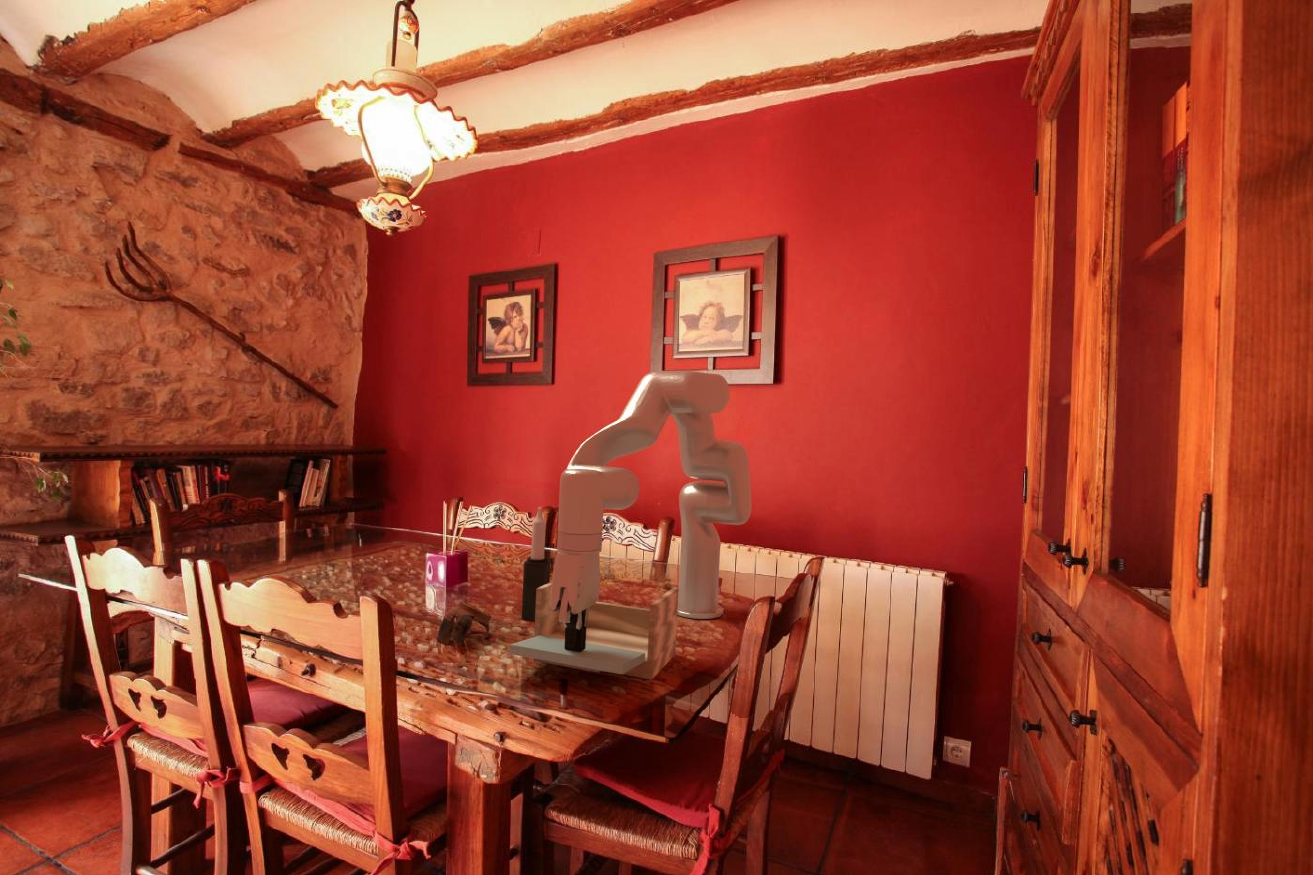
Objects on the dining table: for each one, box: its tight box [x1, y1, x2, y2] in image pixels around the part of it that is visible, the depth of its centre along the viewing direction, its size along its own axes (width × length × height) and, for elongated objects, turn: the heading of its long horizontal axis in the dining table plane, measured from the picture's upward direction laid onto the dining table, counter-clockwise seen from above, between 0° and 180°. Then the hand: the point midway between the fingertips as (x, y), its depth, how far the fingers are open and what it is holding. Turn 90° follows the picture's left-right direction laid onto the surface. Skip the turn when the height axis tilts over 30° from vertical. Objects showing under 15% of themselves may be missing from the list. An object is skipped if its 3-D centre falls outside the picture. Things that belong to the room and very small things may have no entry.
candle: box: [520, 506, 551, 622], centre depth 141 cm, size 5×5×25 cm
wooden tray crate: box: [533, 581, 679, 680], centre depth 119 cm, size 14×23×13 cm, turn 71°
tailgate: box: [508, 635, 645, 675], centre depth 108 cm, size 2×21×11 cm
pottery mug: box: [436, 601, 492, 646], centre depth 125 cm, size 12×10×8 cm
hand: (574, 649), depth 106 cm, fingers closed
